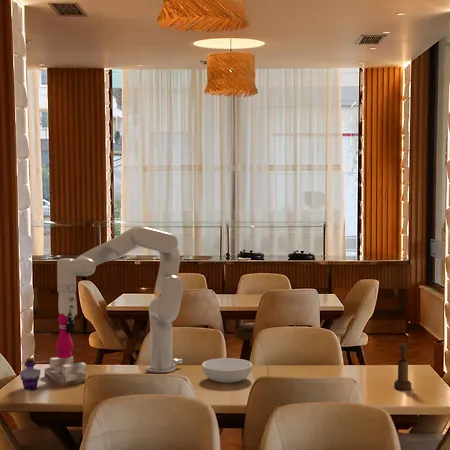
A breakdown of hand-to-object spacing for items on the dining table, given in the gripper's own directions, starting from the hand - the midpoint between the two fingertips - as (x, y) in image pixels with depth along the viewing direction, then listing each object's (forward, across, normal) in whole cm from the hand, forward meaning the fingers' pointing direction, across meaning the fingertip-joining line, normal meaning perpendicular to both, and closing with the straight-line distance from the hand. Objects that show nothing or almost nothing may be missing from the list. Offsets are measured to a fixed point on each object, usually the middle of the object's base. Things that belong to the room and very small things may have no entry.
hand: (67, 331), depth 319 cm
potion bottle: (+20, -6, +18) cm, 28 cm away
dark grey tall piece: (+20, -85, -107) cm, 138 cm away
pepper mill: (+11, 0, +1) cm, 11 cm away
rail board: (+20, 0, +1) cm, 20 cm away
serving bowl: (+20, -37, -55) cm, 69 cm away
